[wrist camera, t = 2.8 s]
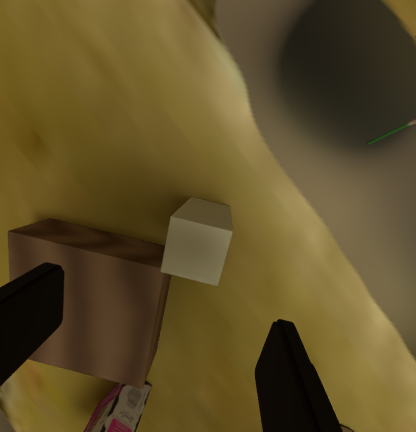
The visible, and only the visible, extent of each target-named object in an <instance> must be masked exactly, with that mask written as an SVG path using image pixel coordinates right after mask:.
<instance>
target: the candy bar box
mask: <svg viewBox="0 0 416 432" xmlns="http://www.w3.org/2000/svg"><path fill="white" fill-rule="evenodd" d="M151 387H152V386H151V385H150V384H148V383H147V382H146V381H145V384H144V386H143V389H141V388H137V387H133V386H130V385H126V384H122V383H118V384H117V385H116V386H115V387H114V388H113V389H112V390H111V392H110V393H109V394H108V395H107V396H106V397H105V398H104V399H103V400H102V401H101V402H100V403H99V404H98V406H97V408H96V409H95V411H94V413H93V415H92V417H91V419H90V420H89V422H88V424H87V426H86V428H85V430H84V431H83V432H136V430H137V427H138V424H139V421H140V418H141V415H142V413H143V410H144V407H145V404H146V401H147V398H148V395H149V392H150V390H151Z"/></svg>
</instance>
